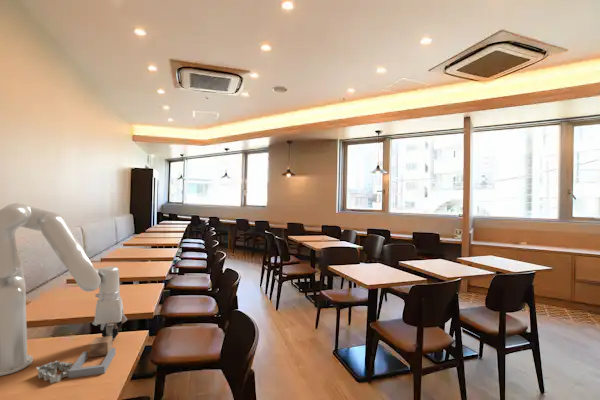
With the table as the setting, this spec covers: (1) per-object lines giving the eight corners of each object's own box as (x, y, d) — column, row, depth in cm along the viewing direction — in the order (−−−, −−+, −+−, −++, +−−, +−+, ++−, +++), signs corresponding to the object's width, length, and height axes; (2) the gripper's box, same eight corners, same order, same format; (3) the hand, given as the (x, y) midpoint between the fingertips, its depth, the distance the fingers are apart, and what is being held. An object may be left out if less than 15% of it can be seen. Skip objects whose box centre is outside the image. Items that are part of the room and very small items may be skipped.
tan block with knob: (90, 357, 123) (90, 340, 123) (103, 339, 138) (103, 324, 138) (107, 354, 124) (107, 338, 124) (118, 338, 139) (118, 323, 139)
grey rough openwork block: (75, 374, 112) (75, 363, 112) (51, 386, 106) (50, 374, 105) (59, 366, 117) (58, 355, 117) (34, 377, 110) (34, 365, 110)
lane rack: (68, 378, 110) (68, 371, 109) (83, 357, 123) (83, 351, 122) (104, 373, 113) (104, 366, 112) (115, 353, 126) (115, 347, 125)
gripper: (84, 300, 130) (85, 343, 131) (128, 297, 135) (128, 339, 136) (91, 294, 138) (91, 335, 138) (132, 291, 142) (133, 331, 143)
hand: (110, 336), depth 137 cm, fingers closed on tan block with knob, 3 cm apart
